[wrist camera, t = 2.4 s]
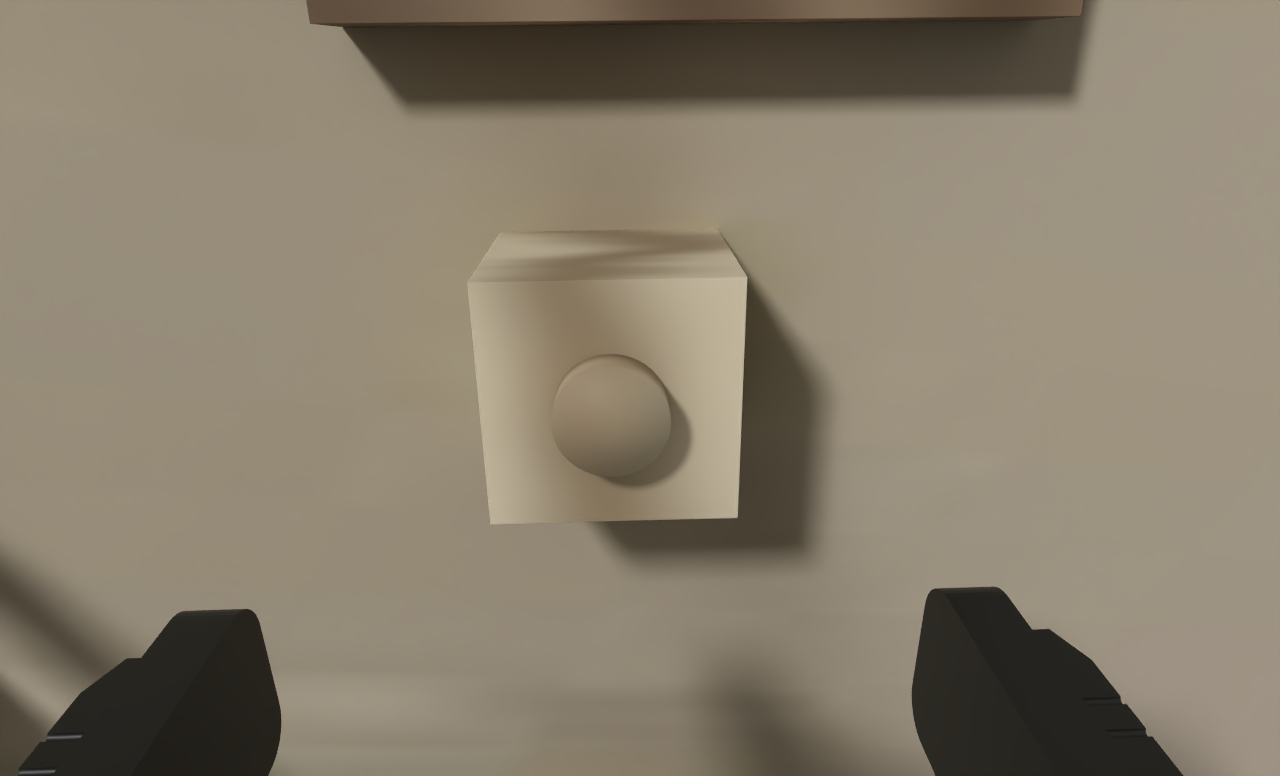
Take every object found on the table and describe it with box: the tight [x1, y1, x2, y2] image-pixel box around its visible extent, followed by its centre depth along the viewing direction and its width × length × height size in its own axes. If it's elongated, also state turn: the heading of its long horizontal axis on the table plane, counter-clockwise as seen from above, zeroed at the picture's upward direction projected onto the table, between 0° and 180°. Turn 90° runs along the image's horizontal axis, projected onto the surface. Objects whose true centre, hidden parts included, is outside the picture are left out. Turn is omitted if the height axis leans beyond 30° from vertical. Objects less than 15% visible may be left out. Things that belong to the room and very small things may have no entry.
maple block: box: [467, 229, 747, 524], centre depth 19 cm, size 6×6×6 cm
